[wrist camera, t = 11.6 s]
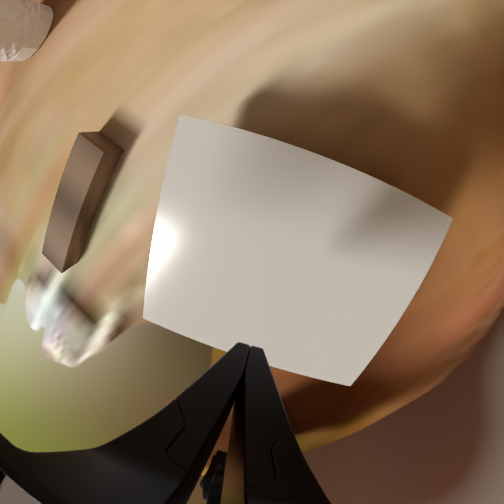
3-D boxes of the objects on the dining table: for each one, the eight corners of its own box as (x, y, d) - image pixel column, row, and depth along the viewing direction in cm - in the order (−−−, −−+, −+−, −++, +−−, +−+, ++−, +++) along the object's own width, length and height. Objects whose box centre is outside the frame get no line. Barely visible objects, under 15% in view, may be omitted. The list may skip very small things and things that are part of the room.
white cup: (66, -8, 12) (-1, -28, 3) (46, 56, 15) (-34, 50, 6) (25, 15, 13) (-35, 7, 3) (9, 72, 16) (-57, 76, 7)
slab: (346, 356, 18) (350, 386, 16) (162, 294, 19) (142, 318, 16) (429, 204, 14) (453, 218, 11) (201, 118, 14) (179, 114, 11)
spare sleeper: (79, 260, 23) (61, 273, 20) (60, 242, 23) (42, 253, 20) (126, 149, 18) (103, 152, 16) (101, 131, 18) (78, 132, 15)
